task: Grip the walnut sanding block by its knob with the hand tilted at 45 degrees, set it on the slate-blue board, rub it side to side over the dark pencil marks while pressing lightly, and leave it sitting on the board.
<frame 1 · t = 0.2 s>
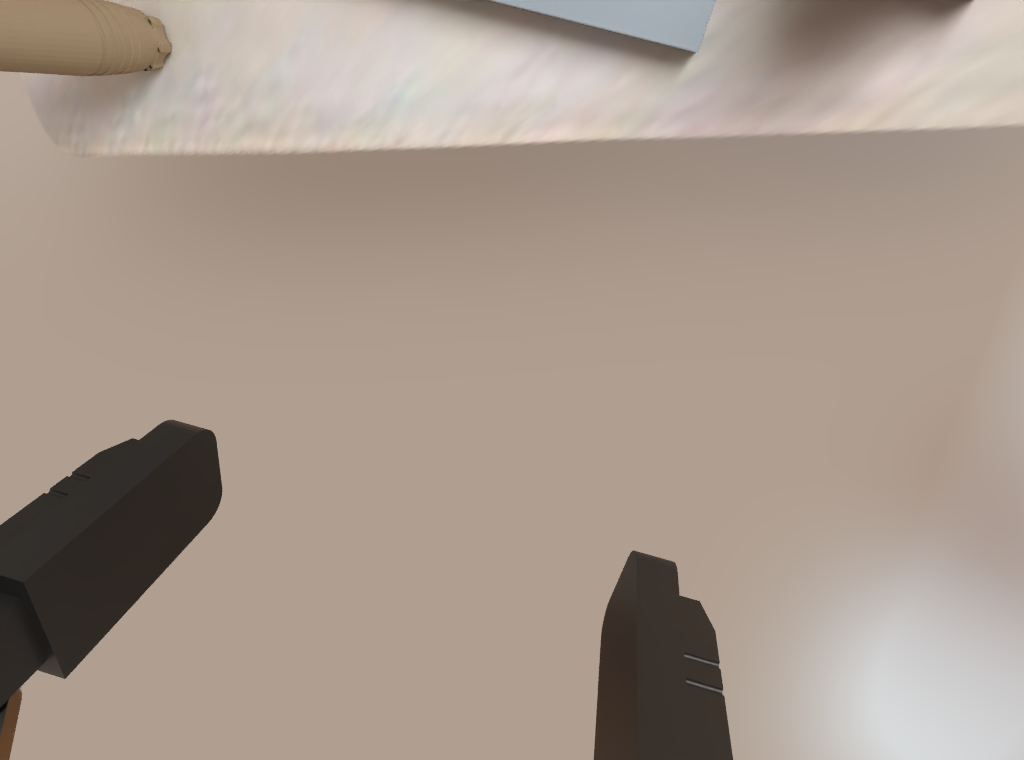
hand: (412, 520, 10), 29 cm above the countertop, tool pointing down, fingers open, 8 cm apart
handle: (153, 40, 36), on the countertop
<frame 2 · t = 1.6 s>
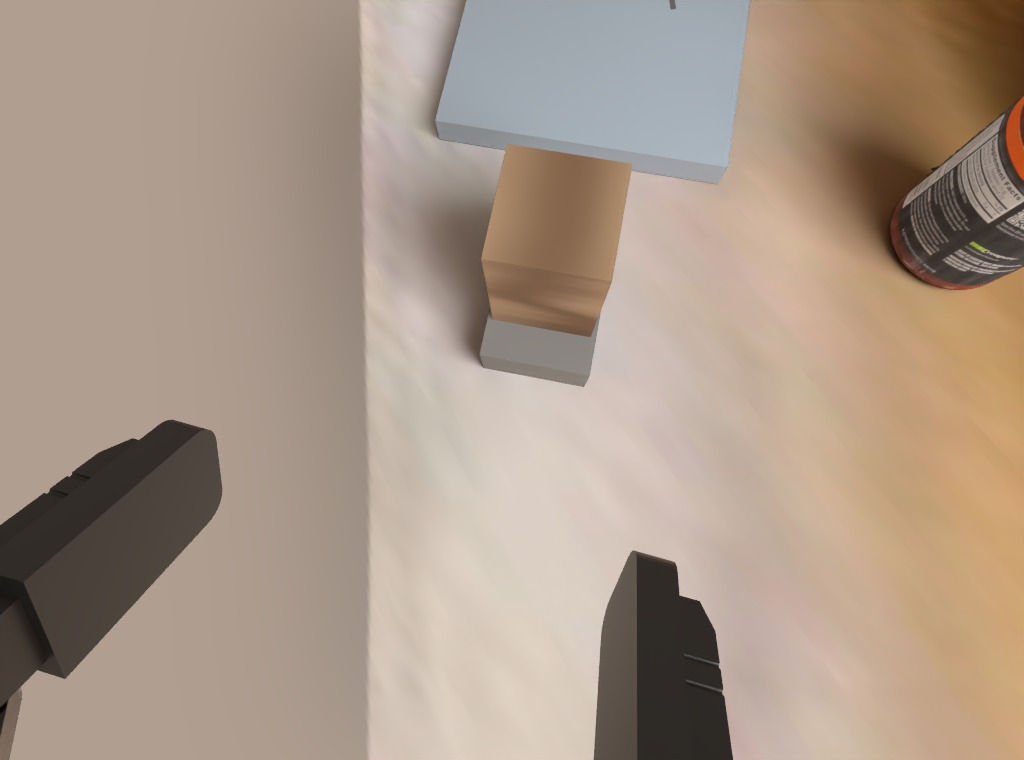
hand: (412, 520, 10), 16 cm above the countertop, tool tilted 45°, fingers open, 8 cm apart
supplement bottle: (940, 240, 28), on the countertop
sanding block: (548, 301, 28), on the countertop
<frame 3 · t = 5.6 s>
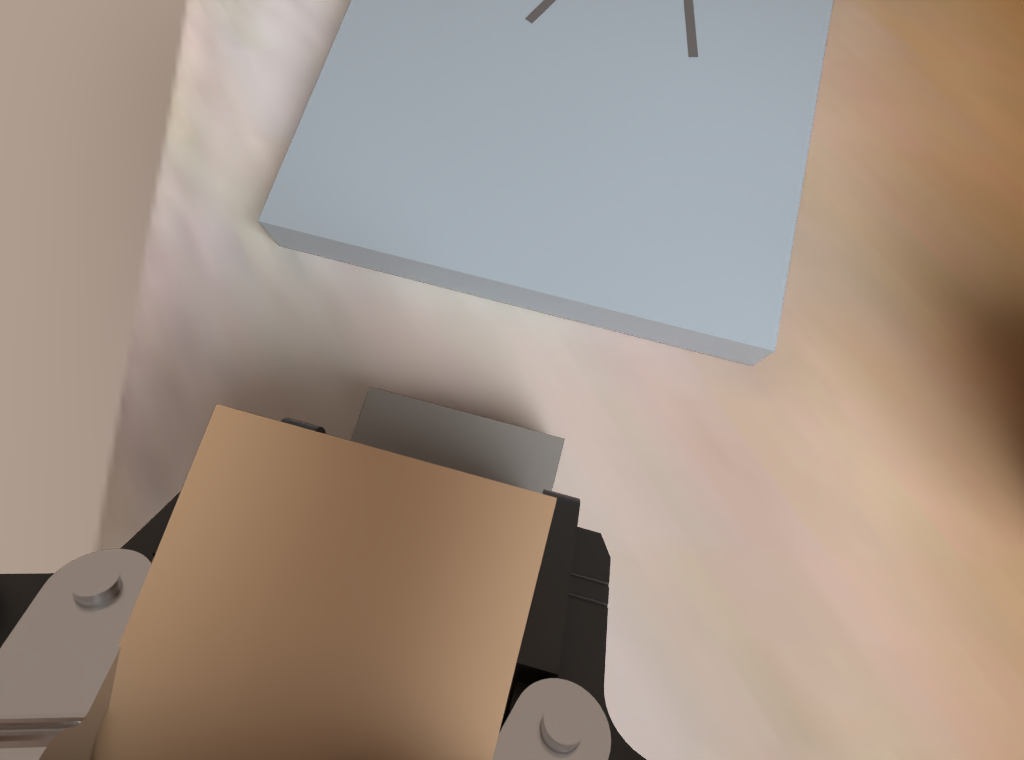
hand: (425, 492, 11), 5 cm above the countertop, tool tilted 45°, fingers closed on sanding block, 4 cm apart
board: (591, 21, 20), on the countertop
sanding block: (432, 568, 15), on the countertop, touching gripper
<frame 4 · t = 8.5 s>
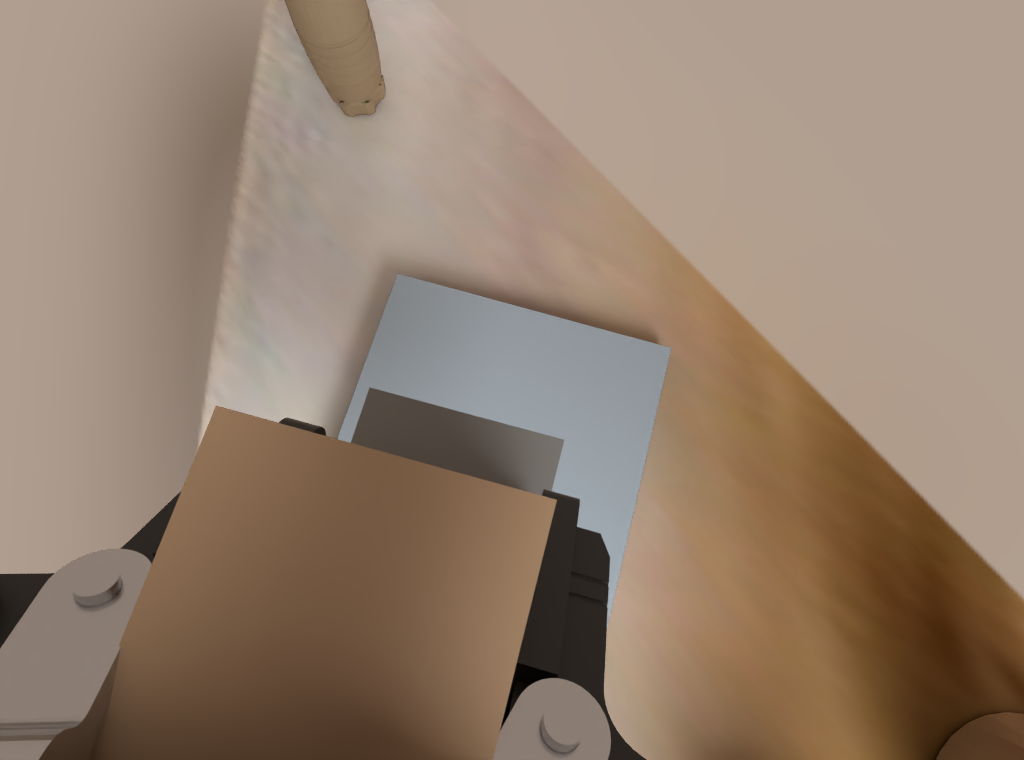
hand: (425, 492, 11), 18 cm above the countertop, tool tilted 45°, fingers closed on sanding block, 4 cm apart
board: (473, 516, 28), on the countertop
sanding block: (432, 569, 15), point 13 cm above the countertop, touching gripper
handle: (361, 100, 34), on the countertop
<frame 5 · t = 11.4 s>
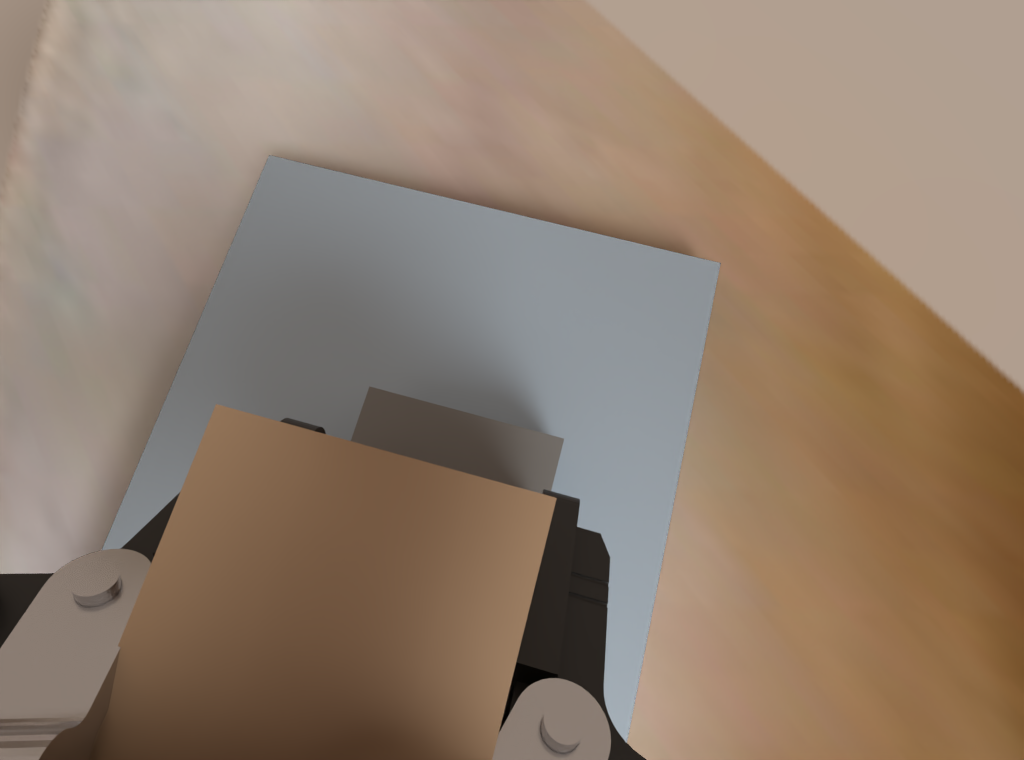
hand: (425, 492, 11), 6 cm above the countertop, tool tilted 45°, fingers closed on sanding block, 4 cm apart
board: (392, 551, 17), on the countertop
sanding block: (432, 568, 15), point 2 cm above the countertop, touching gripper
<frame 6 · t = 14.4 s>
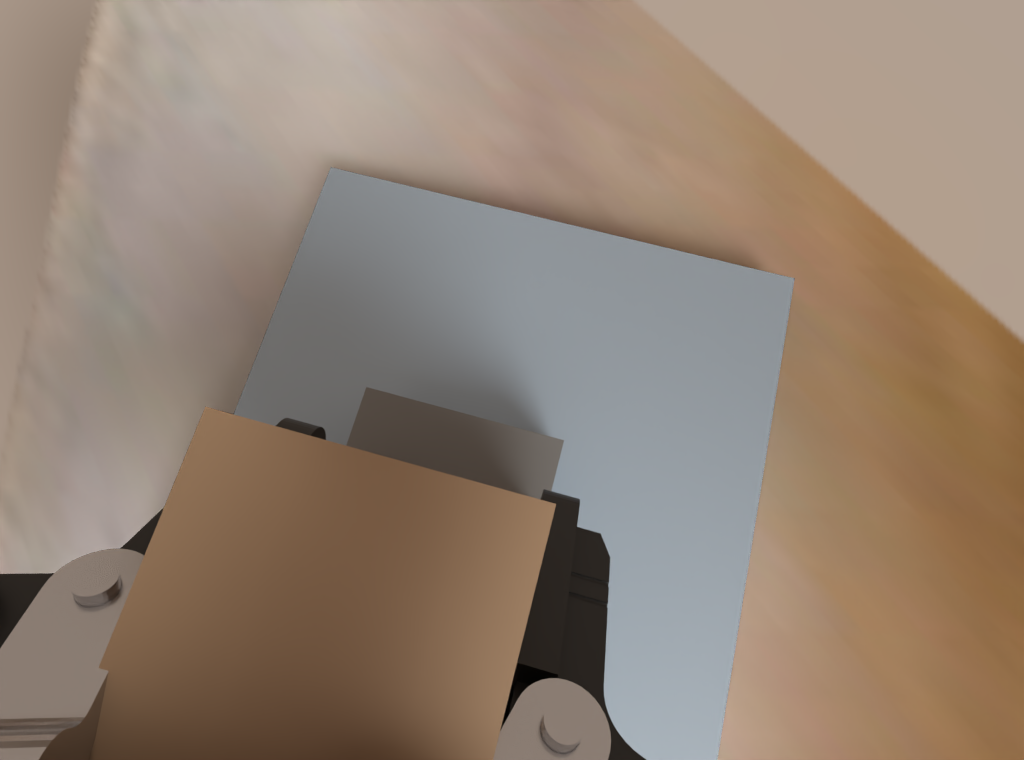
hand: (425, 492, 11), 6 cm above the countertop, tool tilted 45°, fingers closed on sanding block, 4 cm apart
board: (462, 572, 16), on the countertop
sanding block: (430, 570, 15), point 2 cm above the countertop, touching gripper
when the fingers open (6 cm above the countertop, at t = 17.3 s): sanding block stays where it is, resting on board.
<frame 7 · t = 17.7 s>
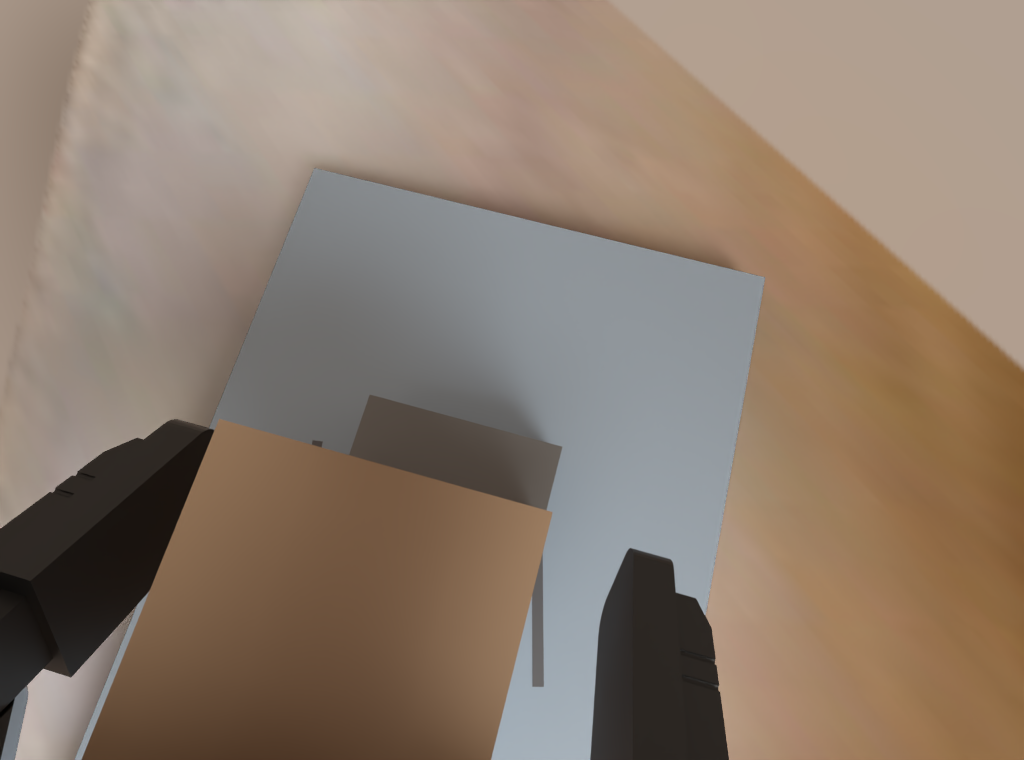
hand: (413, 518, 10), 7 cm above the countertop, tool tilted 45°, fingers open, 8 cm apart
board: (439, 563, 17), on the countertop
sanding block: (431, 573, 15), point 2 cm above the countertop, touching board
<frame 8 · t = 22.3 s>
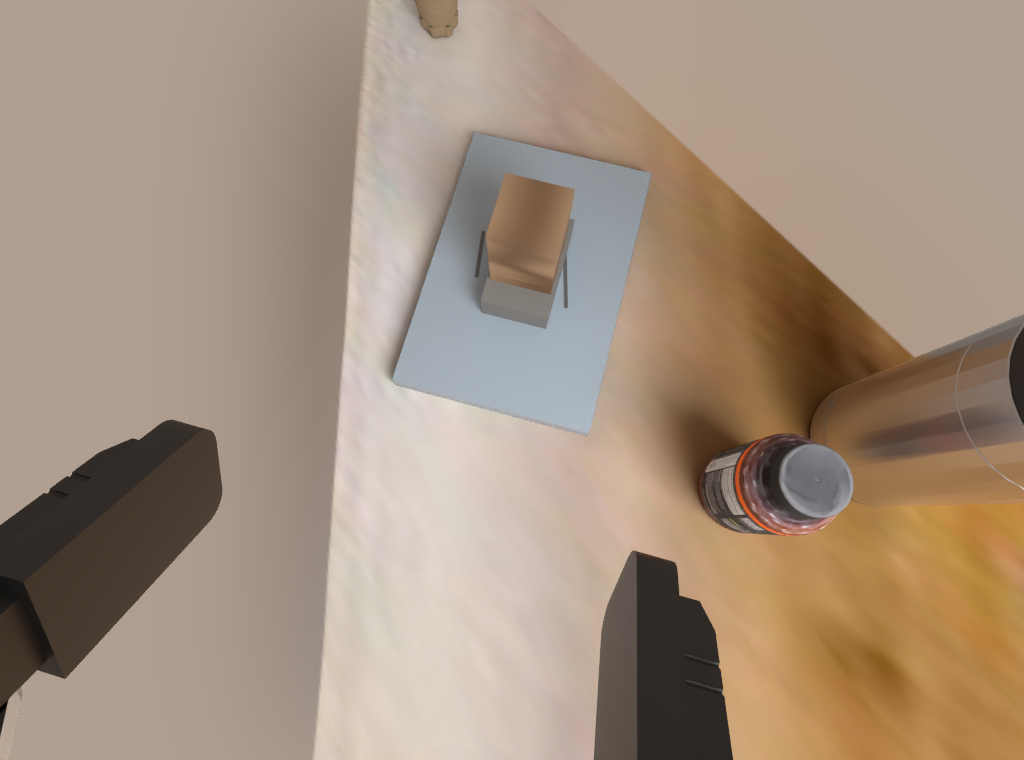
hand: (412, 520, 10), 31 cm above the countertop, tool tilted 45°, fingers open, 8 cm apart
board: (527, 280, 45), on the countertop
supplement bottle: (735, 490, 41), on the countertop
sanding block: (527, 273, 43), point 2 cm above the countertop, touching board
handle: (440, 28, 51), on the countertop
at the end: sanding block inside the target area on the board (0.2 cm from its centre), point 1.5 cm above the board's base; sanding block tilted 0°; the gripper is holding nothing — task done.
